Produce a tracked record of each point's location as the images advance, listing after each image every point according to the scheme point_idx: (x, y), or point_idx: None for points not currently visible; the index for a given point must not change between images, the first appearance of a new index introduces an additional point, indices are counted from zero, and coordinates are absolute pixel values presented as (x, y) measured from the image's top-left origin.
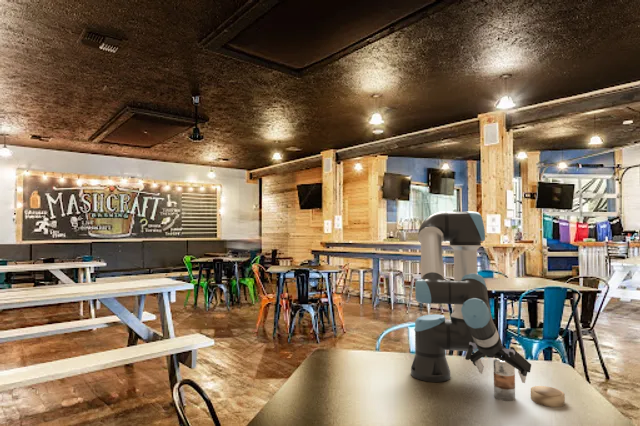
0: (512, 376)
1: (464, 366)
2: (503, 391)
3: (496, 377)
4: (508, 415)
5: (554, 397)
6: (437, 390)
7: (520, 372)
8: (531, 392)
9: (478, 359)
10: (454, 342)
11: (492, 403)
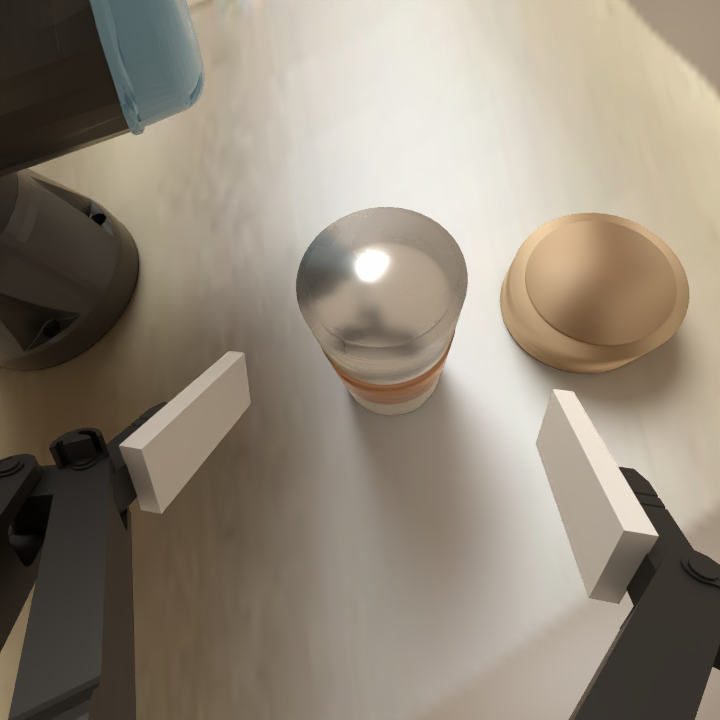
0: (446, 351)
1: (187, 112)
2: (392, 405)
3: (345, 379)
4: (449, 605)
5: (654, 347)
6: None
7: (615, 601)
8: (519, 317)
9: (155, 470)
10: None
11: (350, 477)
